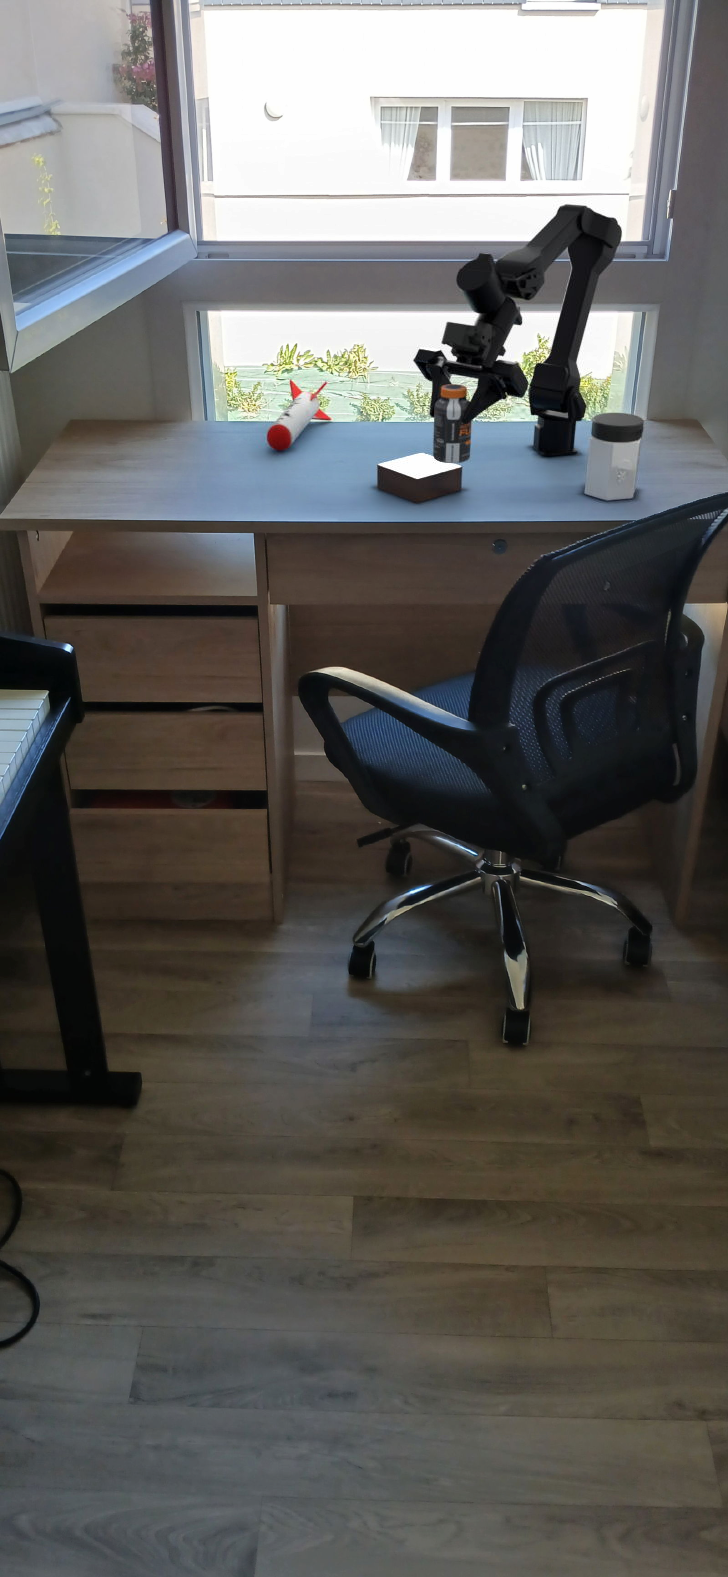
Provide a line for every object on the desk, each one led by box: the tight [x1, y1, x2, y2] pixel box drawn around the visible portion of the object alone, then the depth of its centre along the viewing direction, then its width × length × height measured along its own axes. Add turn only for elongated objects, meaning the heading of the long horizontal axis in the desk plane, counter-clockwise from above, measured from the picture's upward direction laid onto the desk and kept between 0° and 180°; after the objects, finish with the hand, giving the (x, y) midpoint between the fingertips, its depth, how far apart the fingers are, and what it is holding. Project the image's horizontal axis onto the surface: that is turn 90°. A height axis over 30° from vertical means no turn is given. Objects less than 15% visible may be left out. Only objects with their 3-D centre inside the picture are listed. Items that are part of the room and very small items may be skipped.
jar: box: [584, 412, 645, 502], centre depth 187 cm, size 9×8×12 cm
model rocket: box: [266, 379, 332, 452], centre depth 217 cm, size 11×23×10 cm
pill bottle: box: [432, 383, 473, 464], centre depth 182 cm, size 6×6×11 cm
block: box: [376, 452, 463, 504], centre depth 192 cm, size 10×10×4 cm
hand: (447, 418), depth 180 cm, fingers closed on pill bottle, 6 cm apart
